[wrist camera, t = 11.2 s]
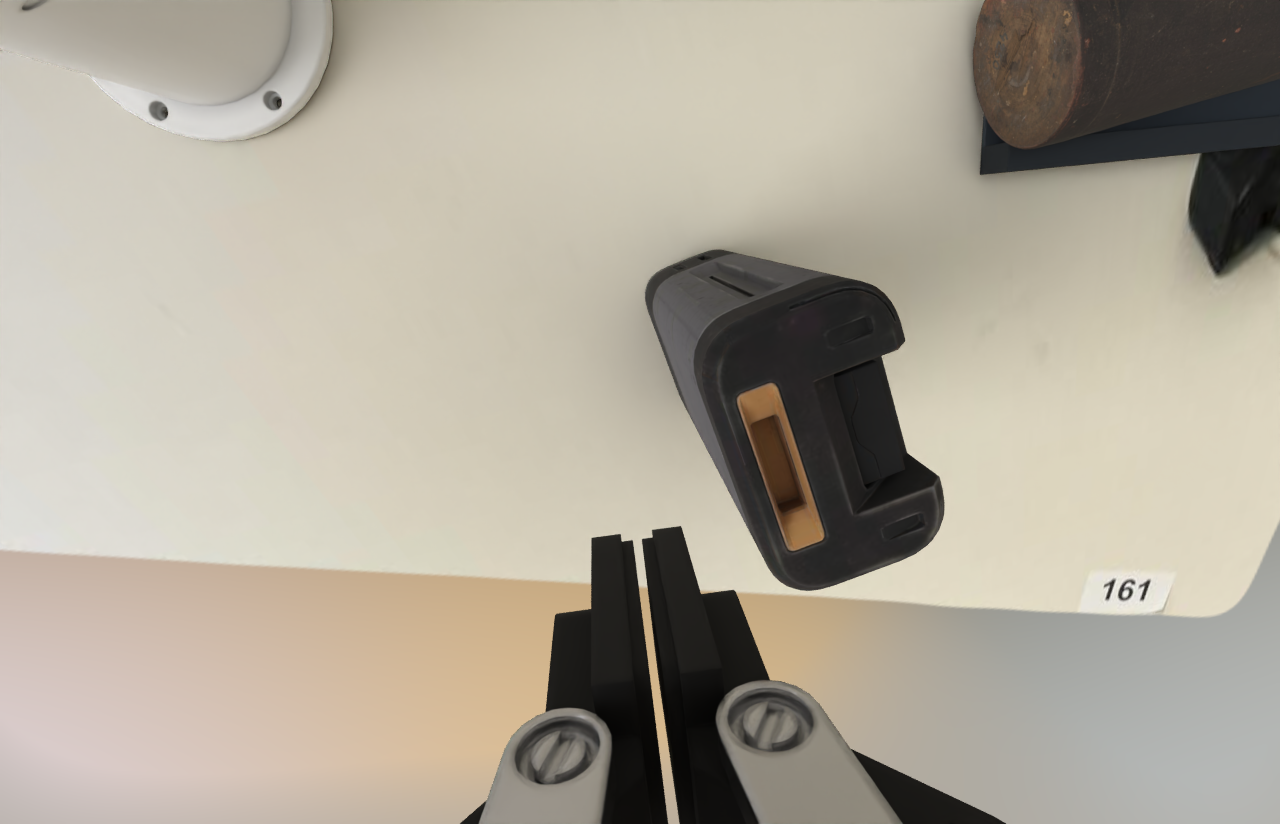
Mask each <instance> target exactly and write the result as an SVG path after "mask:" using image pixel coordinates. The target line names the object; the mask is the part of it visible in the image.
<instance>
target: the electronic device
mask: <svg viewBox="0 0 1280 824" xmlns="http://www.w3.org/2000/svg"><path fill="white" fill-rule="evenodd" d="M645 300H646V305H647V309H648V312H649V315H650V317H651V320H652V323H653V325H654V328H655V331H656V333H657V336H658V339H659V342H660V344H661V347H662V350H663V352H664V355H665V358H666V360H667V363H668V366H669V368H670V371H671V374H672V376H673V379H674V382H675V384H676V387H677V390H678V392H679V395H680V397H681V399H682V401H683V403H684V405H685V407H686V409H687V411H688V413H689V415H690V417H691V419H692V421H693V423H694V425H695V427H696V429H697V431H698V433H699V435H700V436H701V438H702V440H703V442H704V444H705V446H706V448H707V450H708V452H709V454H710V456H711V458H712V460H713V462H714V464H715V466H716V467H717V469H718V471H719V473H720V475H721V477H722V479H723V481H724V483H725V485H726V487H727V489H728V491H729V493H730V495H731V497H732V498H733V500H734V502H735V504H736V506H737V508H738V510H739V512H740V514H741V516H742V518H743V520H744V522H745V524H746V526H747V528H748V529H749V531H750V533H751V535H752V537H753V539H754V541H755V543H756V545H757V547H758V549H759V551H760V553H761V554H762V556H763V558H764V560H765V562H766V564H767V566H768V568H769V570H770V571H771V572H772V574H773V575H774V576H775V577H776V578H777V579H778V580H779V581H780V582H781V583H783V584H785V585H786V586H788V587H791V588H795V589H798V590H806V591H812V590H819V589H823V588H827V587H830V586H834V585H837V584H839V583H842V582H845V581H847V580H850V579H853V578H856V577H858V576H861V575H864V574H866V573H869V572H872V571H874V570H877V569H880V568H882V567H885V566H888V565H891V564H893V563H896V562H899V561H901V560H903V559H906V558H908V557H910V556H912V555H914V554H916V553H917V552H919V551H920V550H921V549H923V548H924V547H926V546H927V545H928V544H929V543H930V542H931V541H932V540H933V538H934V537H935V535H936V534H937V532H938V530H939V528H940V526H941V523H942V520H943V516H944V496H943V489H942V485H941V481H940V477H939V476H938V475H936V474H935V473H934V472H932V471H931V470H929V469H928V468H927V467H925V466H924V465H923V464H921V463H920V462H919V461H917V460H916V459H915V458H913V457H912V456H910V455H909V454H908V453H907V451H906V447H905V444H904V440H903V436H902V432H901V429H900V425H899V421H898V417H897V414H896V410H895V406H894V402H893V398H892V395H891V391H890V387H889V383H888V380H887V376H886V372H885V368H884V364H883V361H882V357H881V356H882V355H885V354H887V353H890V352H893V351H895V350H898V349H899V348H900V346H901V345H902V344H903V343H904V342H905V337H904V333H903V330H902V326H901V322H900V319H899V317H898V314H897V311H896V309H895V308H894V306H893V304H892V302H891V301H890V300H889V298H888V297H887V296H886V295H885V294H884V293H883V292H882V291H881V290H879V289H878V288H877V287H875V286H873V285H871V284H868V283H865V282H862V281H858V280H853V279H849V278H844V277H840V276H836V275H831V274H827V273H822V272H818V271H813V270H809V269H804V268H800V267H796V266H791V265H787V264H782V263H778V262H773V261H769V260H764V259H760V258H755V257H751V256H747V255H742V254H738V253H733V252H729V251H724V250H711V251H707V252H704V253H702V254H699V255H696V256H694V257H691V258H689V259H686V260H684V261H681V262H679V263H676V264H673V265H671V266H668V267H666V268H664V269H662V270H660V271H659V272H657V273H656V274H655V275H654V276H652V278H651V279H650V280H649V282H648V285H647V287H646V292H645Z"/></svg>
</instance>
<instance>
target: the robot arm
mask: <svg viewBox="0 0 1280 824" xmlns="http://www.w3.org/2000/svg"><path fill="white" fill-rule="evenodd" d="M332 38H333V10H332V4H331V0H0V50H2V51H6V52H9V53H13V54H16V55H19V56H23V57H26V58H30V59H33V60H37V61H40V62H44V63H47V64H51V65H54V66H58V67H61V68H65V69H68V70H72V71H75V72H79V73H82V74H86V75H89V76H90V77H91V78H92V80H93V81H94V82H95V83H96V84H97V85H98V86H99V87H100V89H101V90H102V91H103V92H105V93H106V94H107V95H108V96H109V97H111V98H112V99H113V100H114V101H115V102H117V103H118V104H119V105H120V106H121V107H123V108H124V109H125V110H127V111H128V112H130V113H132V114H133V115H135V116H137V117H139V118H140V119H142V120H144V121H145V122H147V123H149V124H151V125H153V126H156V127H158V128H161V129H163V130H166V131H168V132H171V133H174V134H177V135H181V136H185V137H190V138H194V139H200V140H209V141H219V142H227V141H238V140H247V139H250V138H253V137H256V136H260V135H263V134H266V133H269V132H271V131H272V130H274V129H276V128H278V127H279V126H281V125H283V124H284V123H286V122H288V121H289V120H290V119H291V118H292V117H293V116H294V115H296V114H297V113H298V112H299V111H300V110H301V109H302V108H303V107H304V106H305V105H306V104H307V102H308V101H309V99H310V98H311V96H312V95H313V93H314V92H315V90H316V89H317V88H318V86H319V83H320V81H321V79H322V76H323V74H324V71H325V69H326V66H327V64H328V59H329V54H330V49H331V44H332ZM280 98H281V99H282V106H281V107H280V109H279V108H278V107H277V100H278V99H280ZM167 109H168V116H166V110H167ZM652 534H653V538H647V539H642V544H643V553H644V561H645V569H646V578H647V586H648V595H649V603H650V611H651V620H652V628H653V636H654V645H655V653H656V661H657V669H658V677H659V684H660V691H661V698H662V704H663V712H664V719H665V725H666V732H667V738H668V746H669V752H670V760H671V767H672V774H673V781H674V787H675V794H676V802H677V807H678V815H679V822H680V824H1006V823H1004V822H1002V821H1001V820H999V819H997V818H995V817H994V816H992V815H989V814H987V813H985V812H983V811H981V810H979V809H977V808H975V807H973V806H971V805H968V804H966V803H964V802H962V801H960V800H958V799H956V798H954V797H952V796H949V795H947V794H945V793H943V792H941V791H939V790H937V789H935V788H932V787H930V786H928V785H926V784H924V783H922V782H920V781H918V780H916V779H913V778H911V777H909V776H907V775H905V774H903V773H901V772H898V771H897V770H894V769H892V768H890V767H888V766H886V765H884V764H882V763H880V762H877V761H875V760H873V759H871V758H869V757H867V756H865V755H863V754H861V753H858V752H856V751H854V750H852V749H850V747H849V746H848V744H847V743H846V742H845V740H844V739H843V737H842V736H841V734H840V733H839V731H838V730H837V729H836V727H835V726H834V724H833V723H832V722H831V720H830V719H829V717H828V716H827V714H826V713H825V711H824V710H823V709H822V707H821V706H820V704H819V703H818V702H817V701H816V700H815V699H814V698H813V697H812V696H811V695H810V694H809V693H807V692H805V691H803V690H802V689H800V688H799V687H797V686H794V685H791V684H788V683H785V682H781V681H772V680H770V679H769V676H768V674H767V671H766V669H765V666H764V664H763V661H762V658H761V656H760V653H759V651H758V648H757V645H756V643H755V640H754V638H753V635H752V633H751V630H750V627H749V625H748V622H747V620H746V617H745V614H744V612H743V609H742V607H741V604H740V601H739V599H738V597H737V594H736V592H735V591H734V590H729V591H721V592H714V593H707V594H701V593H700V589H699V586H698V583H697V579H696V576H695V572H694V569H693V565H692V562H691V559H690V555H689V552H688V548H687V545H686V541H685V538H684V534H683V531H682V528H681V526H679V527H671V528H664V529H656V530H652ZM591 588H592V589H591V590H592V591H591V609H588V610H581V611H574V612H566V613H559V614H556V615H555V621H554V631H553V641H552V651H551V661H550V673H549V682H548V692H547V704H546V712H545V713H543V714H540V715H537V716H536V717H534V718H532V719H531V720H529V721H528V722H526V723H525V724H523V725H522V726H521V727H520V728H519V729H518V730H517V731H516V732H515V733H514V734H513V736H512V737H511V738H510V740H509V742H508V744H507V746H506V748H505V750H504V753H503V756H502V758H501V761H500V764H499V767H498V770H497V773H496V776H495V778H494V781H493V784H492V787H491V790H490V793H489V796H488V799H487V800H486V802H484V803H483V804H482V805H481V806H480V807H478V808H477V809H476V810H475V811H474V812H473V813H472V814H470V815H469V816H468V817H467V818H466V819H465V820H464V821H462V822H461V823H460V824H668V820H667V811H666V803H665V795H664V786H663V778H662V770H661V762H660V754H659V747H658V738H657V730H656V723H655V715H654V707H653V698H652V690H651V682H650V674H649V666H648V658H647V650H646V642H645V634H644V626H643V618H642V610H641V602H640V595H639V586H638V578H637V570H636V562H635V555H634V547H633V540H631V541H624V542H622V541H621V534H618V535H610V536H603V537H595V538H592V562H591Z"/></svg>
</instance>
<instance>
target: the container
mask: <svg viewBox="0 0 1280 824" xmlns="http://www.w3.org/2000/svg"><path fill="white" fill-rule="evenodd" d="M973 68H974V79H975V86H976V90H977V95H978V99H979V102H980V104H981V107H982V110H983V112H984V115H985V117H986V119H987V121H988V123H989V124H990V126H991V127H992V129H993V130H994V131H995V133H996V134H997V135H998V136H999V137H1000V138H1001V139H1002V140H1003V141H1004V142H1006V143H1007V144H1009V145H1011V146H1013V147H1016V148H1019V149H1036V148H1040V147H1044V146H1048V145H1052V144H1055V143H1059V142H1064V141H1067V140H1070V139H1073V138H1077V137H1080V136H1084V135H1087V134H1091V133H1094V132H1097V131H1101V130H1105V129H1108V128H1111V127H1114V126H1118V125H1121V124H1124V123H1128V122H1131V121H1135V120H1138V119H1142V118H1145V117H1149V116H1152V115H1156V114H1159V113H1162V112H1166V111H1169V110H1172V109H1176V108H1180V107H1183V106H1186V105H1190V104H1193V103H1196V102H1200V101H1203V100H1207V99H1211V98H1215V97H1218V96H1221V95H1225V94H1228V93H1232V92H1236V91H1239V90H1243V89H1246V88H1250V87H1253V86H1257V85H1261V84H1264V83H1267V82H1271V81H1274V80H1277V79H1280V0H985V2H984V4H983V6H982V9H981V12H980V15H979V18H978V22H977V26H976V37H975V43H974V50H973Z"/></svg>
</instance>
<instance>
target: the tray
mask: <svg viewBox="0 0 1280 824" xmlns="http://www.w3.org/2000/svg"><path fill="white" fill-rule="evenodd" d="M1278 145H1280V79H1277V80H1274V81H1271V82H1267V83H1264V84H1261V85H1257V86H1253V87H1250V88H1246V89H1243V90H1239V91H1236V92H1232V93H1228V94H1225V95H1221V96H1218V97H1215V98H1211V99H1207V100H1203V101H1200V102H1196V103H1193V104H1190V105H1186V106H1183V107H1180V108H1176V109H1172V110H1169V111H1166V112H1162V113H1159V114H1156V115H1152V116H1149V117H1145V118H1142V119H1138V120H1135V121H1131V122H1128V123H1124V124H1121V125H1118V126H1114V127H1111V128H1108V129H1105V130H1101V131H1097V132H1094V133H1091V134H1087V135H1084V136H1080V137H1077V138H1073V139H1070V140H1067V141H1064V142H1059V143H1055V144H1052V145H1048V146H1044V147H1040V148H1036V149H1019V148H1016V147H1013V146H1011V145H1009V144H1007V143H1006V142H1004V141H1003V140H1002V139H1001V138H1000V137H999V136H998V135H997V134H996V133H995V131H994V130H993V129H992V127H991V126H990V124H989V123H988V121H987V119H986V117H985V115H984V116H983V133H982V150H981V167H980V175H983V174H993V173H1004V172H1014V171H1024V170H1034V169H1044V168H1054V167H1064V166H1075V165H1085V164H1095V163H1105V162H1115V161H1125V160H1136V159H1146V158H1156V157H1166V156H1176V155H1186V154H1196V153H1207V152H1217V151H1227V150H1237V149H1247V148H1257V147H1268V146H1278Z"/></svg>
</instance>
